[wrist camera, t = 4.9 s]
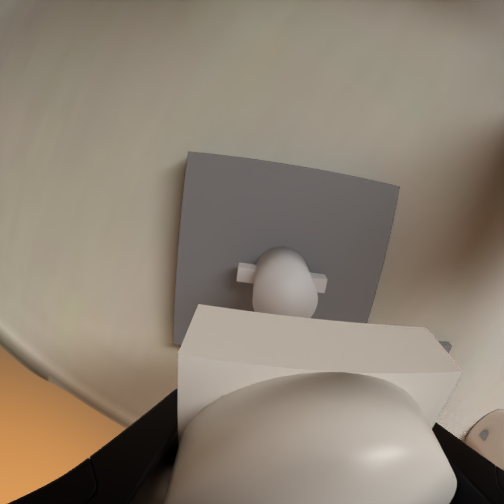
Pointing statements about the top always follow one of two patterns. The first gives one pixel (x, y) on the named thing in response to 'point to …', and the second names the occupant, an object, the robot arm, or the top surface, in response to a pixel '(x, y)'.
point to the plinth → (279, 240)
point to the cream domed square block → (309, 412)
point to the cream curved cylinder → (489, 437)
